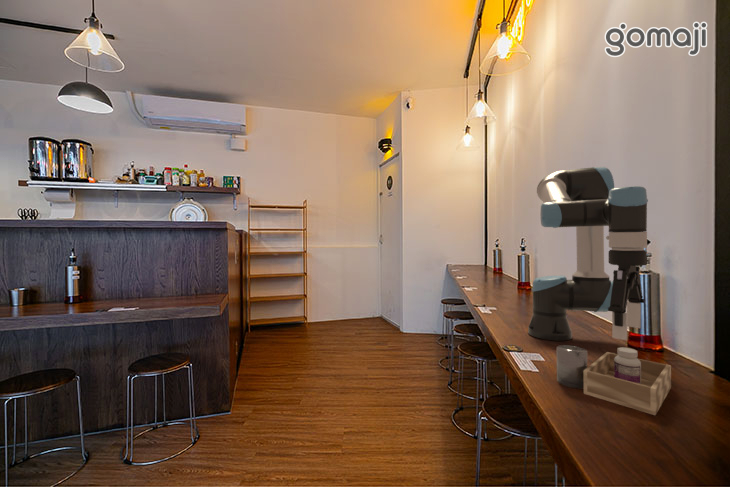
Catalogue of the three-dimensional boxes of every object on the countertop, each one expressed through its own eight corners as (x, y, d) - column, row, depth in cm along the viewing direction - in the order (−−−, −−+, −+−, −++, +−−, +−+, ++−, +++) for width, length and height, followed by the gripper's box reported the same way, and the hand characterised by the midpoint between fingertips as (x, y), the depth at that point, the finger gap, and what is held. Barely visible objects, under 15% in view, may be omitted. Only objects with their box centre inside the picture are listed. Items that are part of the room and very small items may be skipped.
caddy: (607, 371, 95) (606, 351, 95) (671, 387, 84) (670, 365, 84) (583, 393, 82) (583, 370, 82) (655, 415, 72) (655, 389, 72)
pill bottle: (616, 381, 87) (615, 344, 87) (642, 387, 83) (642, 349, 83) (612, 387, 83) (612, 350, 83) (639, 394, 79) (639, 355, 79)
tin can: (562, 374, 93) (562, 343, 93) (591, 382, 88) (591, 349, 88) (552, 382, 89) (552, 349, 89) (582, 391, 84) (581, 356, 83)
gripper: (621, 246, 93) (621, 320, 94) (593, 251, 77) (593, 340, 78) (656, 246, 88) (656, 325, 88) (633, 252, 72) (633, 348, 72)
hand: (627, 332), depth 83 cm, fingers open, 13 cm apart
